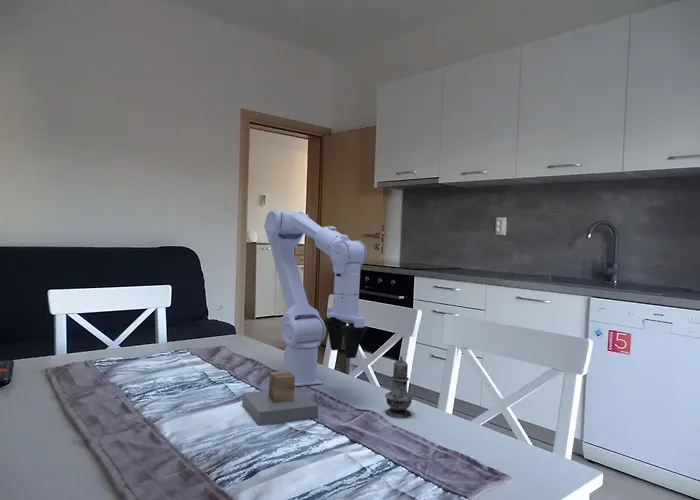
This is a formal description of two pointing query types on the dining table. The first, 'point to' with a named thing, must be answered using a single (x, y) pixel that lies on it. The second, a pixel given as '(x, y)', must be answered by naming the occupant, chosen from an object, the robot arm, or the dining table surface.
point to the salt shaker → (399, 392)
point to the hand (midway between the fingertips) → (343, 353)
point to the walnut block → (281, 386)
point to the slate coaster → (279, 408)
